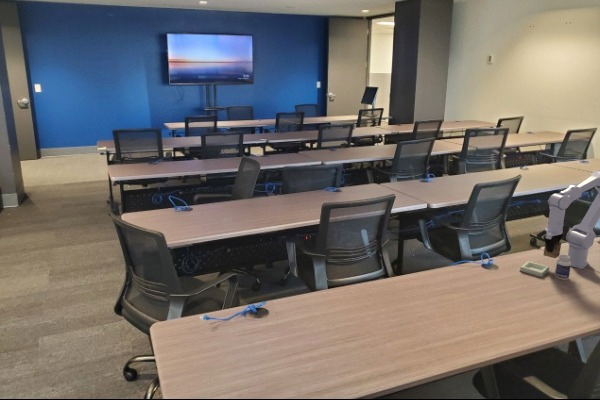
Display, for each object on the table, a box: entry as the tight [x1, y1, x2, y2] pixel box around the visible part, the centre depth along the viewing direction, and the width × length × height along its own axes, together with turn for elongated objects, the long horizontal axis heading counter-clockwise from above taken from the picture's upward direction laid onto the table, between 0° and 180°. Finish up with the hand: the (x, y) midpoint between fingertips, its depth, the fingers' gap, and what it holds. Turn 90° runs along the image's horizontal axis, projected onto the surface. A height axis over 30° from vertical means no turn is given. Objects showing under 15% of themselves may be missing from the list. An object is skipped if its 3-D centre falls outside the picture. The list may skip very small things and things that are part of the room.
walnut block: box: [543, 241, 562, 259], centre depth 202 cm, size 5×5×6 cm
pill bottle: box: [554, 254, 572, 281], centre depth 194 cm, size 5×5×10 cm
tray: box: [519, 260, 550, 278], centre depth 201 cm, size 9×9×2 cm
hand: (551, 250), depth 202 cm, fingers closed on walnut block, 5 cm apart
